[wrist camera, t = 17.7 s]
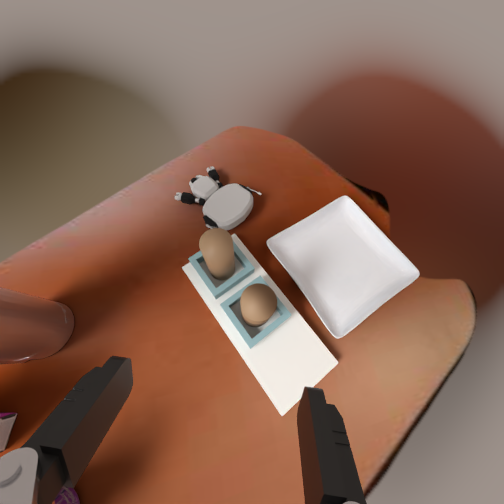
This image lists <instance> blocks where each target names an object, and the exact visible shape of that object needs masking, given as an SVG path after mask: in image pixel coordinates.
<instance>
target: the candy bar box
mask: <svg viewBox="0 0 504 504" xmlns="http://www.w3.org/2000/svg"><path fill="white" fill-rule="evenodd" d="M16 416H17V413H0V452H3V451H4V450H5V448H6V446H7V443H8V440H9V437H10V433H11V430H12V428H13V425H14V422H15V419H16Z"/></svg>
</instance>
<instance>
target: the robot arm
mask: <svg viewBox="0 0 504 504" xmlns="http://www.w3.org/2000/svg"><path fill="white" fill-rule="evenodd" d="M73 328H74V316H73V313H72V311H71V310H70V308H69V307H67V306H66V305H64V304H62V303H59V302H55V301H51V300H47V299H44V298H40V297H36V296H32V295H28V294H24V293H20V292H16V291H12V290H9V289H5V288H1V287H0V364H14V363H25V362H26V361H28V360H32V359H42V358H46V357H48V356H51V355H53V354H54V353H56V352H57V351H59V350H60V349H61V348H62V347H63V346H64V345H65V344H66V343H67V341H68V340H69V338H70V336H71V334H72V332H73ZM132 386H133V375H132V365H131V359H130V358H125V357H118V356H112V357H110V358H109V359H108V361H107V362H106V363H105V364H104V365H103V367H102V368H101V367H95V368H94V369H92V370H91V371H90V372H88V373H87V374H85V375H84V376H83V377H82V378H81V379H80V380H79V381H78V383H77V384H76V385H75V386H74V387H73V389H72V390H71V391H70V392H69V393H68V394H67V395H66V397H65V398H64V400H63V401H61V402H60V404H59V405H58V406H57V407H56V408H55V409H54V411H53V412H52V413H51V414H50V415H49V416H48V418H47V419H46V420H45V421H44V422H43V423H42V425H41V426H40V427H39V428H38V429H37V430H36V432H35V433H34V434H33V435H32V436H31V437H30V439H29V440H28V441H27V442H26V443H25V444H24V445H23V446H22V447H21V448H19V449H16V450H13V451H11V452H9V453H7V454H5V455H4V456H2V457H1V458H0V504H55V498H56V496H57V495H58V493H59V492H60V490H61V489H62V487H63V486H64V487H69V488H74V487H75V485H76V484H77V482H78V480H79V479H80V477H81V475H82V474H83V472H84V470H85V469H86V467H87V465H88V463H89V462H90V460H91V458H92V457H93V455H94V453H95V452H96V450H97V448H98V447H99V445H100V443H101V442H102V440H103V438H104V437H105V435H106V433H107V432H108V430H109V428H110V427H111V425H112V423H113V422H114V420H115V418H116V416H117V415H118V413H119V411H120V410H121V408H122V406H123V405H124V403H125V401H126V400H127V398H128V396H129V394H130V392H131V389H132ZM297 426H298V436H299V446H300V456H301V466H302V476H303V486H304V496H305V504H367V503H366V501H365V498H364V494H363V491H362V487H361V484H360V480H359V476H358V473H357V469H356V465H355V462H354V458H353V454H352V451H351V448H350V443H349V440H348V436H347V435H346V429H345V425H344V422H343V418H342V416H341V415H340V413H339V412H338V410H337V408H336V407H335V405H331V404H326V400H325V396H324V392H323V390H322V389H319V388H313V387H306V386H305V387H304V390H303V394H302V397H301V400H300V404H299V407H298V413H297Z"/></svg>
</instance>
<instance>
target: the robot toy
mask: <svg viewBox="0 0 504 504" xmlns="http://www.w3.org/2000/svg"><path fill="white" fill-rule="evenodd" d="M210 168H211V169H209V167H208V168H207V172H208V175H209V177H208V176H201V175H198V176H196V178H192V179H191V180H190V182H189V185H190V187H191V190H192V193H193V195H192V194H190V193H185V192H183V193H176V196H175V199H176V200H178V201H179V200H181V201H182V202H183V203H187V204H192V203H195V202H197V203H199V204H200V205H202V206H203V210H202V211H203V214H204V217H203V218H204V221H205V223H206V227H208V228H211V229H213V228H221V229H224V230H230V229H232V228H234V227H236V226H237V225H239V224H240V223H241V222H243V221H244V220H245V219H246V218H247V216H248V215H249V213H250V212H251V210H252V208H253V196H252V192H251V191H253V192H255V193H257V194H259V195H262V194H261V193H260V192H257V191H254V190H252V189H250V188H249V187H245V186H243V185H241V184H239V185H238V184H234V183H233V184H228V185H225V186H223V185H222V184H221V182H219V175H218V173H217V172H216V170H215V168H214V167H213V166H211V167H210Z"/></svg>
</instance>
